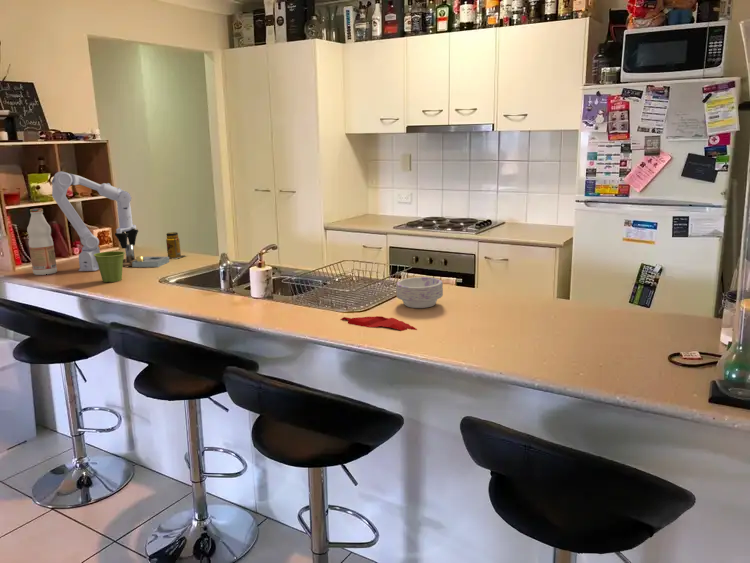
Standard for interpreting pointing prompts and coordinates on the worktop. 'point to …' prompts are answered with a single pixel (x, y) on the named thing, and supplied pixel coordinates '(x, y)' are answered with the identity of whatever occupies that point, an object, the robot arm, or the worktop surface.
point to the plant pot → (110, 265)
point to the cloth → (379, 322)
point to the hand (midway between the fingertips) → (128, 246)
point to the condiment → (173, 245)
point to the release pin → (139, 258)
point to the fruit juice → (41, 244)
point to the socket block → (151, 262)
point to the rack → (127, 263)
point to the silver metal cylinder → (129, 253)
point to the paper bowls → (419, 291)
